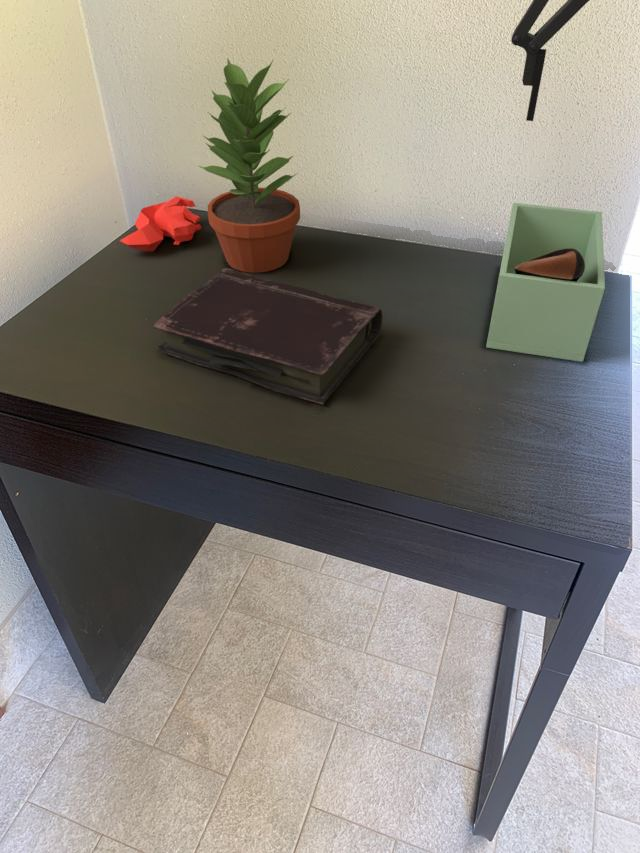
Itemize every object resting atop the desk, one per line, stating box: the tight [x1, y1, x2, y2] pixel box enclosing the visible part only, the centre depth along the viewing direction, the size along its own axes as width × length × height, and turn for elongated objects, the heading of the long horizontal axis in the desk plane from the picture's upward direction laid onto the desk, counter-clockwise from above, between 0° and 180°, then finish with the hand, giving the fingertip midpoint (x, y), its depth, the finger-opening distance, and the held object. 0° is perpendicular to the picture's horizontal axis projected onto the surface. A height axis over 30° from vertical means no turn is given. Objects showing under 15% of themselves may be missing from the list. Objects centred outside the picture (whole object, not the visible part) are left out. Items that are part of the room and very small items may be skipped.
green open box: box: [485, 202, 606, 363], centre depth 96 cm, size 23×13×11 cm, turn 164°
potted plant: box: [198, 57, 301, 274], centre depth 102 cm, size 15×15×30 cm
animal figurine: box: [119, 196, 202, 252], centre depth 116 cm, size 12×15×5 cm
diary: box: [152, 267, 383, 406], centre depth 92 cm, size 19×25×5 cm
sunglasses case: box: [514, 248, 585, 282], centre depth 92 cm, size 18×7×7 cm
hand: (594, 122), depth 75 cm, fingers open, 13 cm apart
